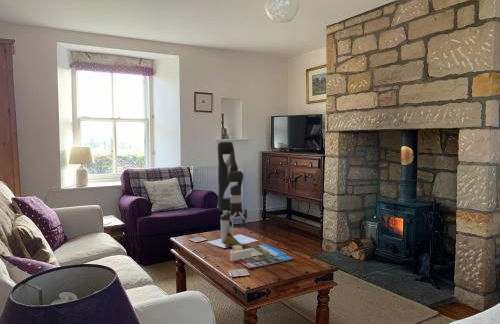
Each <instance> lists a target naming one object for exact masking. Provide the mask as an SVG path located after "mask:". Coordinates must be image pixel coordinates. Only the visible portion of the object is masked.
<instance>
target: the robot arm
mask: <svg viewBox="0 0 500 324" xmlns="http://www.w3.org/2000/svg"><path fill="white" fill-rule="evenodd" d="M224 155H229V156H228V158H227V159H226V161H225V160H224ZM217 159H218V161H217V162H218V168H217V169H218V170H217V171H218V172H217V177H218V178H217V180H218V181H217V183H218V191H217V192H218V195H217V208H218V211H225V212H224V213H222V214H220V241H221V243H222V244H224V243H223V241H224V240H225V238H226V237H227V233H231V235H232V236H233V237H234V218H238V217H241V225H242V226H244V225H245V223H246V219H247V218H248V211H247V210H248V209H246V208H243V199H242V198H243V197H242V184H243V181H244V173H243V172H242V171H241V170H239V167H238V163H237V161H236V154H235V148H234V143H233V142H232V141H219V142H217ZM230 183H236V184H234V185H231V186H230V197H224V195H225V192H226V191H227V189H228V187H229V185H230ZM242 213H243V214H242Z"/></svg>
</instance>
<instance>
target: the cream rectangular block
mask: <svg viewBox="0 0 500 324" xmlns="http://www.w3.org/2000/svg"><path fill="white" fill-rule="evenodd" d="M245 249H246V250H244V249H243V250H241V251H235V252H233V251H230V252H229V254H230V256H229V257H230V262H236V261H240V260H239V259H242V258H247V259H250V258H249V257H251V258H252V256H251V249H247V248H245ZM242 260H243V259H242Z"/></svg>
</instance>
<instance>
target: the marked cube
mask: <svg viewBox="0 0 500 324" xmlns="http://www.w3.org/2000/svg"><path fill="white" fill-rule="evenodd" d="M241 245H242V244H241ZM241 245H236V246H233V247H232V252H235V251H241V250H244V249H243V247H244V246H243V245H242V246H243V247H242V246H241Z"/></svg>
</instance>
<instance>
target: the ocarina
mask: <svg viewBox="0 0 500 324" xmlns="http://www.w3.org/2000/svg"><path fill="white" fill-rule="evenodd" d="M222 244H224V245H225V246H227V247H229V248H233V246H236V245H241V246H242V247H243V250H244V249H245V247H244V246H243V244H241V243H240V241H238V240H237V239H236V238H235V237H234V235H233V236H232V235H231V233H227V237H226V238H225V240H224V241H223V243H222Z"/></svg>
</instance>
